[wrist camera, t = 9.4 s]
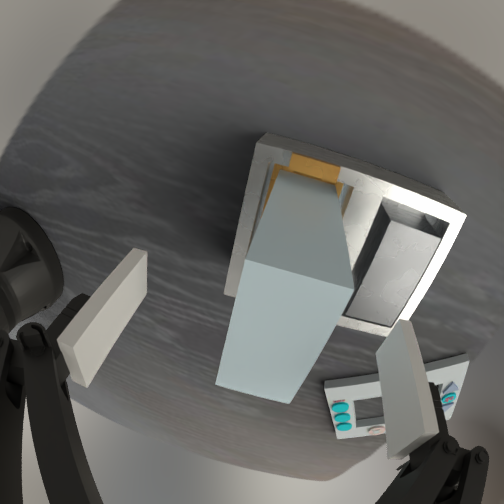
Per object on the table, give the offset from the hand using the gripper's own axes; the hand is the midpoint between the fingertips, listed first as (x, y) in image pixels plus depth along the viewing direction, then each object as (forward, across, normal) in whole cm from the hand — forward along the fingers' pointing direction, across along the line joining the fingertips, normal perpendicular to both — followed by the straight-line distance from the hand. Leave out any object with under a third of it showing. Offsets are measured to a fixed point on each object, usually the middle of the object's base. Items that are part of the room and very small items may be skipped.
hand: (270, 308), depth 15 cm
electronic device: (+12, +22, -21) cm, 33 cm away
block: (+9, +1, 0) cm, 9 cm away
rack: (+11, +4, 0) cm, 12 cm away
